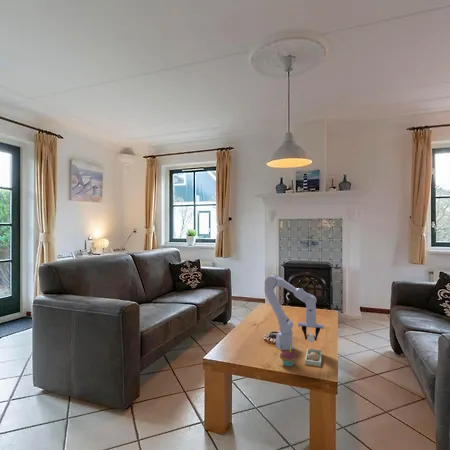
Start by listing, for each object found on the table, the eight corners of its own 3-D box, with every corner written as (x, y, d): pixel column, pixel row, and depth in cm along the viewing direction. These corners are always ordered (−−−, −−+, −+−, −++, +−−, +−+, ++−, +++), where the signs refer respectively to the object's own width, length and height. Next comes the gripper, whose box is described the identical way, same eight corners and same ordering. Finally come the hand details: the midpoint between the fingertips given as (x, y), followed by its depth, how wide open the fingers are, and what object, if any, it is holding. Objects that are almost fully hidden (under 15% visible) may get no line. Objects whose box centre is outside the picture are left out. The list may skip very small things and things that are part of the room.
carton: (320, 367, 160) (320, 362, 160) (304, 365, 163) (304, 360, 163) (321, 354, 175) (321, 350, 175) (307, 352, 178) (307, 348, 178)
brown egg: (311, 364, 162) (311, 354, 162) (306, 360, 167) (306, 351, 167) (319, 363, 163) (319, 354, 163) (315, 359, 168) (315, 350, 168)
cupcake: (294, 361, 167) (294, 339, 167) (298, 368, 159) (298, 345, 159) (278, 361, 167) (278, 339, 167) (281, 368, 159) (281, 345, 159)
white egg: (308, 344, 178) (308, 335, 178) (305, 340, 183) (305, 332, 182) (316, 343, 179) (316, 334, 179) (312, 340, 183) (312, 331, 183)
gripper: (324, 315, 182) (324, 338, 182) (298, 313, 187) (298, 335, 187) (323, 319, 175) (323, 343, 175) (297, 316, 180) (297, 340, 180)
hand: (310, 339), depth 181 cm, fingers closed on white egg, 5 cm apart
